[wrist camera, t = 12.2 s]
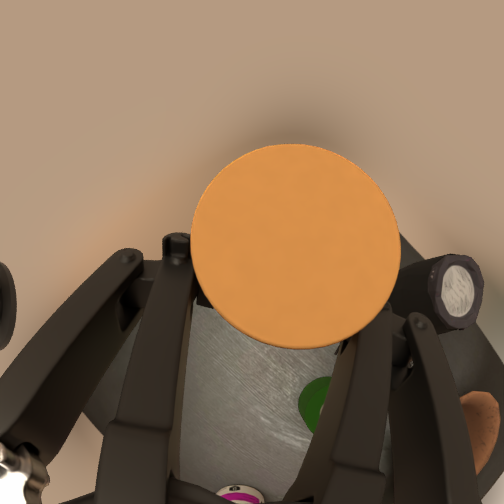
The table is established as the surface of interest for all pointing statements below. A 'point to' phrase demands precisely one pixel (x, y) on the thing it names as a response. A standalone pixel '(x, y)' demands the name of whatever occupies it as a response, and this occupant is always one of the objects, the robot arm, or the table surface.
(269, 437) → the table surface
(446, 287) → the portable speaker
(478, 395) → the bowl
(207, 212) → the orange tall cylinder
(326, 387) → the candle
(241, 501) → the supplement can
